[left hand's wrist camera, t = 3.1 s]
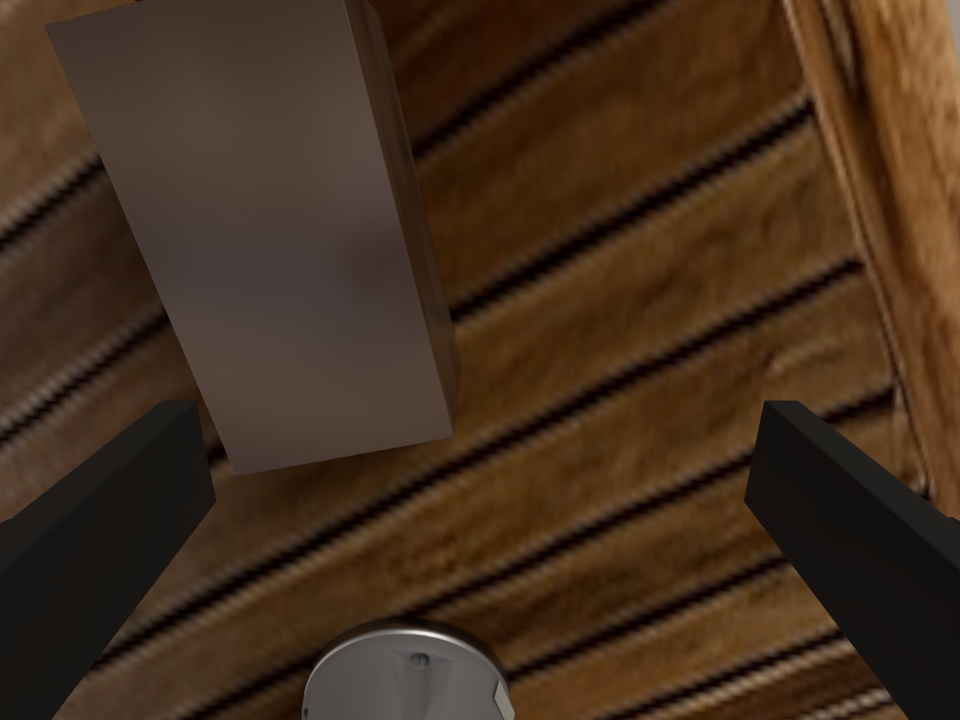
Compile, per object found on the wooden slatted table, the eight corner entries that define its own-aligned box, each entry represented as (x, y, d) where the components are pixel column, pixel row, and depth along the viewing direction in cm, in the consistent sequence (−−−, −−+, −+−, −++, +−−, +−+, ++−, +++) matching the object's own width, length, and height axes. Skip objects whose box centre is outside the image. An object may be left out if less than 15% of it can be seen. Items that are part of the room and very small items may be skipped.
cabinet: (180, 64, 26) (43, 25, 18) (380, 16, 26) (332, -48, 17) (298, 394, 33) (236, 477, 24) (461, 363, 32) (454, 437, 24)
